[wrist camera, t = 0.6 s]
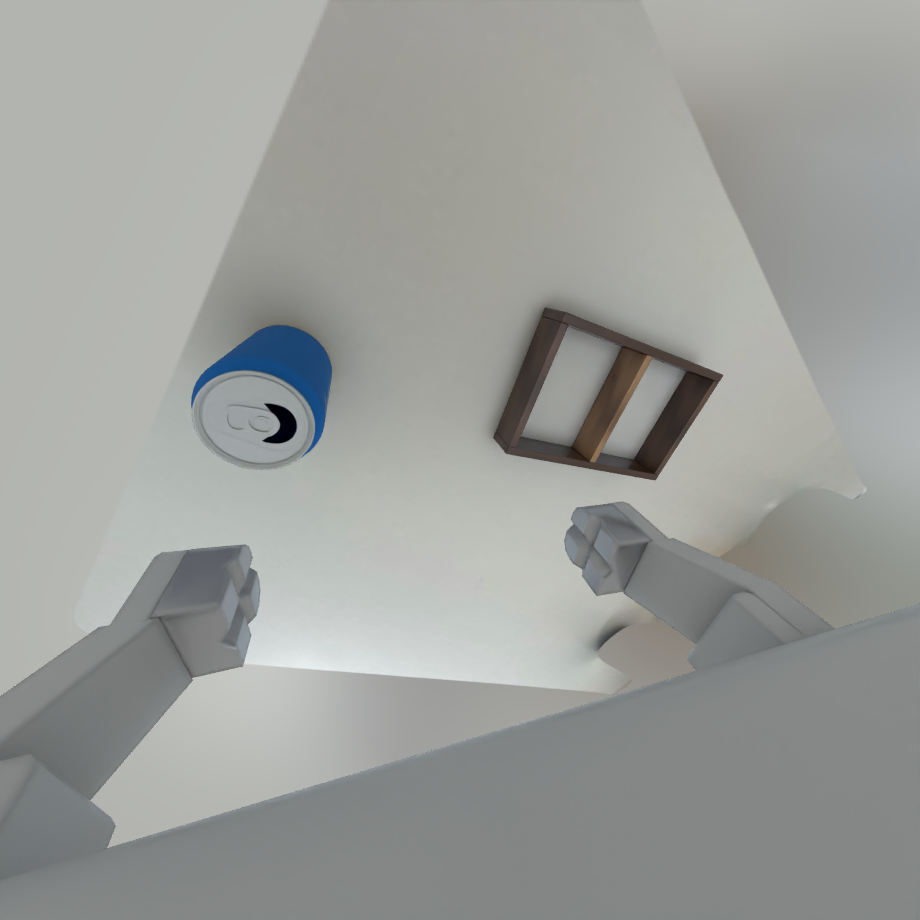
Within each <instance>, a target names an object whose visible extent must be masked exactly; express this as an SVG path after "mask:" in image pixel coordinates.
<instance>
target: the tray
mask: <svg viewBox="0 0 920 920" xmlns="http://www.w3.org/2000/svg"><path fill="white" fill-rule="evenodd" d="M568 326H569V327H571V328H574V329H576V330H579V331H582V332H584V333H587V334H590V335H592V336H595V337H598V338H600V339H603V340H605V341H608V342H611V343H613V344H616V345H619V346H621V347H623V348H622V350H621V352H620V354H619V356H618V358H617V360H616V362H615V364H614V366H613V368H612V370H611V371H610V373H609V375H608V377H607V379H606V381H605V383H604V385H603V387H602V389H601V391H600V393H599V395H598V397H597V399H596V401H595V403H594V405H593V407H592V409H591V411H590V413H589V415H588V417H587V419H586V421H585V423H584V425H583V427H582V429H581V431H580V433H579V435H578V437H577V439H576V441H575V443H574V445H573V448H572V447H568V446H563V445H558V444H553V443H548V442H543V441H538V440H533V439H529V438H524V437H521V434H522V432H523V430H524V427H525V425H526V423H527V420H528V418H529V416H530V413H531V411H532V409H533V406H534V404H535V402H536V399H537V397H538V395H539V392H540V390H541V388H542V385H543V383H544V381H545V378H546V376H547V374H548V372H549V369H550V367H551V365H552V362H553V360H554V358H555V355H556V353H557V351H558V348H559V346H560V344H561V341H562V339H563V337H564V334H565V332H566V330H567V327H568ZM652 358H653V359H656V360H658V361H661V362H663V363H666V364H669V365H671V366H674V367H677V368H679V369H682V370H685V371H687V373H686V375H685V376H684V378H683V380H682V381H681V383H680V385H679V386H678V388H677V390H676V391H675V393H674V395H673V396H672V398H671V400H670V401H669V403H668V405H667V406H666V408H665V410H664V411H663V413H662V415H661V416H660V418H659V420H658V421H657V423H656V425H655V426H654V428H653V430H652V431H651V433H650V435H649V436H648V438H647V440H646V441H645V443H644V445H643V446H642V448H641V450H640V451H639V453H638V455H637V456H636V458H635V460H631V459H626V458H621V457H616V456H612V455H607V454H602V453H601V451H602V449H603V447H604V445H605V443H606V442H607V440H608V438H609V436H610V434H611V433H612V431H613V429H614V427H615V425H616V423H617V422H618V420H619V418H620V416H621V414H622V412H623V411H624V409H625V407H626V405H627V403H628V402H629V400H630V398H631V396H632V394H633V392H634V391H635V389H636V387H637V385H638V383H639V381H640V380H641V378H642V376H643V374H644V372H645V371H646V369H647V367H648V365H649V363H650V361H651V360H652ZM722 377H723V375H722V374H720V373H717V372H715V371H712V370H710V369H707V368H705V367H702V366H700V365H697V364H695V363H692V362H690V361H687V360H684V359H682V358H679V357H677V356H674V355H672V354H669V353H667V352H664V351H662V350H659V349H657V348H654V347H652V346H649V345H647V344H644V343H642V342H639V341H637V340H634V339H632V338H629V337H627V336H624V335H622V334H619V333H617V332H614V331H612V330H609V329H607V328H604V327H602V326H599V325H597V324H594V323H592V322H589V321H587V320H584V319H582V318H579V317H576V316H574V315H571V314H569V313H566V312H562V311H558V310H554V309H550V308H545V309H544V312H543V314H542V317H541V319H540V322H539V325H538V327H537V330H536V332H535V335H534V337H533V340H532V342H531V345H530V347H529V350H528V352H527V355H526V358H525V360H524V363H523V365H522V368H521V370H520V373H519V375H518V378H517V380H516V383H515V385H514V388H513V391H512V393H511V396H510V398H509V401H508V403H507V406H506V408H505V411H504V413H503V416H502V418H501V421H500V424H499V426H498V429H497V432H496V433H495V436H494V439H495V441H496V442H497V443H498V444H499V445H500V447H501V448H502V449H503V450H504V452H505V453H506V454H510V455H516V456H521V457H527V458H533V459H538V460H544V461H550V462H555V463H561V464H566V465H572V466H578V467H583V468H589V469H594V470H600V471H606V472H611V473H617V474H622V475H628V476H634V477H639V478H645V479H650V480H656V479H657V477H658V476H659V474H660V472H661V471H662V469H663V468H664V466H665V465H666V463H667V462H668V460H669V458H670V457H671V455H672V454H673V452H674V451H675V449H676V448H677V446H678V445H679V443H680V441H681V440H682V438H683V437H684V435H685V434H686V432H687V431H688V429H689V428H690V426H691V425H692V423H693V421H694V420H695V418H696V417H697V415H698V414H699V412H700V411H701V409H702V408H703V406H704V405H705V403H706V401H707V400H708V398H709V397H710V395H711V394H712V392H713V391H714V389H715V388H716V386H717V384H718V383H719V381H720V380H721V378H722Z"/></svg>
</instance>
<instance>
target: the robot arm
mask: <svg viewBox="0 0 920 920" xmlns="http://www.w3.org/2000/svg"><path fill="white" fill-rule="evenodd" d="M571 520H572V522H573V525H572V526H571V527H570V528H569V529H568V530H567V532H566V536H565V540H564V542H565V550H566V552H567V555H568V557H569V558H570V560H571V561H572V563H573V564H575V565H576V566H578V567H580V568H581V569H582V577H583V578H584V579H585V581H586V582H587V583H588V585H589V586H590V588H591V589H592V590H593V592H594V593H595V594H596V596H599V595H605V594H611V593H617V592H623V591H624V594H625V595H627V596H628V597H630V598H631V599H633V600H634V601H635V602H637V603H638V604H640V605H641V606H643V607H644V608H645V609H647V610H648V611H650V612H651V613H652V614H654V615H655V616H657V617H658V618H660V619H661V620H663V621H664V622H666V623H667V624H668V625H670V626H671V627H672V628H674V629H675V630H677V631H678V632H680V633H681V634H682V635H684V636H685V637H687V638H688V639H690V640H691V641H692V642H694V643H695V644H696V645H695V646H694V647H693V649H692V650H691V651H690V653H689V654H688V661H689V663H690V664H691V665H692V666H693V667H694V669H695V670H696V671H694V672H691V673H688V674H684V675H681V676H677V677H674V678H671V679H667V680H664V681H661V682H657V683H654V684H651V685H648V686H644V687H641V688H637V689H634V690H631V691H628V692H624V693H621V694H617V695H614V696H611V697H608V698H604V699H601V700H598V701H595V702H591V703H588V704H584V705H581V706H578V707H574V708H571V709H568V710H564V711H561V712H558V713H554V714H551V715H548V716H544V717H541V718H538V719H535V720H531V721H528V722H525V723H521V724H518V725H514V726H511V727H508V728H504V729H501V730H498V731H494V732H491V733H488V734H484V735H481V736H478V737H474V738H471V739H468V740H465V741H461V742H458V743H455V744H451V745H448V746H445V747H441V748H438V749H435V750H431V751H428V752H425V753H422V754H418V755H415V756H411V757H408V758H405V759H402V760H399V761H395V762H391V763H388V764H385V765H382V766H378V767H375V768H372V769H368V770H365V771H362V772H358V773H355V774H352V775H349V776H345V777H342V778H338V779H335V780H332V781H329V782H325V783H322V784H319V785H315V786H312V787H309V788H305V789H302V790H299V791H295V792H292V793H289V794H285V795H282V796H279V797H275V798H272V799H269V800H265V801H262V802H259V803H256V804H252V805H249V806H245V807H242V808H239V809H236V810H232V811H229V812H226V813H222V814H219V815H216V816H212V817H209V818H206V819H202V820H199V821H196V822H192V823H189V824H186V825H183V826H179V827H176V828H173V829H170V830H166V831H163V832H159V833H156V834H153V835H149V836H146V837H143V838H139V839H136V840H133V841H129V842H126V843H123V844H119V845H116V846H113V847H110V848H107V847H108V844H109V842H110V839H111V837H112V834H113V832H114V829H115V826H116V825H115V823H114V822H113V820H112V818H111V817H110V816H108V815H107V814H106V813H105V812H104V811H102V810H101V809H100V808H99V807H97V806H96V805H95V804H94V803H92V802H91V801H90V800H91V799H92V798H93V796H94V795H95V794H96V793H97V792H98V791H99V789H100V788H101V787H102V786H103V785H104V783H106V781H107V780H108V779H109V778H110V777H111V776H112V774H113V773H114V772H115V771H116V770H117V768H118V767H119V766H120V765H121V764H122V763H123V761H124V760H125V759H126V758H127V757H128V755H129V754H130V753H131V752H132V751H133V750H134V749H135V747H136V746H137V745H138V744H139V743H140V742H141V740H142V739H143V738H144V737H145V736H146V734H147V733H148V732H149V731H150V730H151V729H152V728H153V726H154V725H155V724H156V723H157V722H158V720H159V719H160V718H161V717H162V715H164V713H165V712H166V711H167V710H168V709H169V708H170V706H171V705H172V704H173V703H174V702H175V701H176V699H177V698H178V697H179V696H180V695H181V694H182V692H183V691H184V690H185V689H186V688H187V687H188V685H189V684H190V683H191V682H192V681H193V680H192V678H193V677H198V676H202V675H207V674H211V673H215V672H220V671H224V670H229V669H233V668H238V667H242V666H243V664H244V661H245V657H246V653H247V649H248V646H249V642H250V638H251V633H250V630H249V627H248V624H249V623H250V622H251V621H252V620H253V619H254V618H255V617H256V615H257V611H258V607H259V600H260V583H259V577H258V574H257V572H256V571H255V570H253V569H251V568H250V565H251V561H252V558H253V557H252V554H251V551H250V548H249V546H247V545H234V546H223V547H212V548H201V549H191V550H184V551H173V552H162V553H160V554H159V555H157V556H156V557H155V558H154V559H153V560H152V562H151V563H150V565H149V566H148V568H147V569H146V571H145V572H144V574H143V575H142V577H141V578H140V580H139V581H138V583H137V584H136V586H135V588H134V589H133V591H132V592H131V594H130V595H129V597H128V598H127V600H126V601H125V603H124V604H123V606H122V607H121V609H120V610H119V612H118V614H117V615H116V617H115V618H114V620H113V621H112V623H111V624H110V625H108V626H103V627H99V628H97V629H96V630H94V631H93V632H91V633H90V634H89V635H87V636H86V637H84V638H83V639H81V640H80V641H79V642H77V643H76V644H74V645H73V646H71V647H70V648H69V649H67V650H66V651H64V652H63V653H61V654H60V655H59V656H57V657H56V658H54V659H53V660H52V661H50V662H49V663H47V664H46V665H44V666H43V667H41V668H40V669H39V670H37V671H36V672H34V673H33V674H31V675H30V676H29V677H27V678H26V679H24V680H23V681H21V682H20V683H19V684H17V685H16V686H14V687H13V688H11V689H10V690H9V691H7V692H6V693H5V694H3V695H1V696H0V920H920V604H917V605H914V606H910V607H907V608H904V609H900V610H897V611H893V612H890V613H887V614H883V615H880V616H877V617H874V618H870V619H867V620H864V621H860V622H857V623H854V624H850V625H847V626H844V627H840V628H837V629H835V628H833V627H832V626H831V625H830V624H828V623H827V622H826V621H824V620H823V619H822V618H820V617H819V616H818V615H817V614H815V613H814V612H813V611H812V610H810V609H809V608H808V607H806V606H805V605H803V604H802V603H801V602H800V601H799V600H797V599H796V598H795V597H793V596H792V595H791V594H789V593H788V592H787V591H786V590H784V589H783V588H782V587H780V586H779V585H778V584H777V583H774V582H772V581H770V580H767V579H765V578H763V577H761V576H758V575H756V574H754V573H752V572H749V571H747V570H745V569H742V568H740V567H738V566H735V565H733V564H731V563H729V562H726V561H724V560H722V559H720V558H717V557H715V556H713V555H711V554H708V553H706V552H704V551H701V550H699V549H697V548H694V547H692V546H690V545H688V544H685V543H683V542H681V541H678V540H676V539H674V538H672V539H668V538H667V537H666V536H665V535H664V534H663V533H662V532H661V531H659V530H658V529H657V528H656V527H655V526H654V525H653V524H651V523H650V522H649V521H648V520H647V519H646V518H645V517H644V516H642V515H641V514H640V513H639V512H638V511H637V510H636V509H634V508H633V507H632V506H631V505H630V504H628V503H626V502H616V503H609V504H603V505H594V506H586V507H578V508H576V509H575V510H574V512H573V514H572V517H571Z"/></svg>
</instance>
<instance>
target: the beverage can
mask: <svg viewBox="0 0 920 920" xmlns="http://www.w3.org/2000/svg"><path fill="white" fill-rule="evenodd" d="M331 377H332V368H331V363H330V360H329V357H328V355H327V353H326V351H325V350H324V348H323V347H322V346H321V345H320V343H319V342H318V341H317V340H316V339H314V338H313V337H312V336H310V335H309V334H307V333H306V332H304V331H302V330H299V329H297V328H294V327H289V326H281V325H278V326H270V327H266V328H263V329H261V330H259V331H257V332H256V333H254V334H253V335H252V336H250V337H249V338H248V339H246V340H245V341H244V342H242V343H241V344H240V345H239V346H237V347H236V348H235V349H233V350H232V351H231V352H229V353H228V354H227V355H225V356H224V357H223V358H221V359H220V360H219V361H217V362H216V363H215V364H213V365H212V366H211V367H209V368H208V369H207V370H206V371H205V372H204V373H203V374H202V375H201V376H200V378H199V379H198V381H197V382H196V385H195V387H194V389H193V394H192V402H191V406H192V420H193V424H194V428H195V430H196V432H197V434H198V436H199V438H200V439H201V441H202V442H203V443H204V444H205V445H206V447H207V448H208V449H210V450H211V451H212V452H213V453H214V454H216V455H217V456H218V457H220V458H222V459H223V460H225V461H227V462H229V463H231V464H234V465H237V466H239V467H243V468H247V469H254V470H271V469H277V468H281V467H284V466H287V465H290V464H291V463H293V462H295V461H297V460H298V459H299V458H301V457H303V456H304V455H305V454H307V453H308V452H309V451H310V450H311V449H312V448H313V447H314V446H315V445H316V444H317V442H318V441H319V439H320V437H321V435H322V432H323V428H324V423H325V417H326V410H327V403H328V397H329V390H330V384H331Z"/></svg>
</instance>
